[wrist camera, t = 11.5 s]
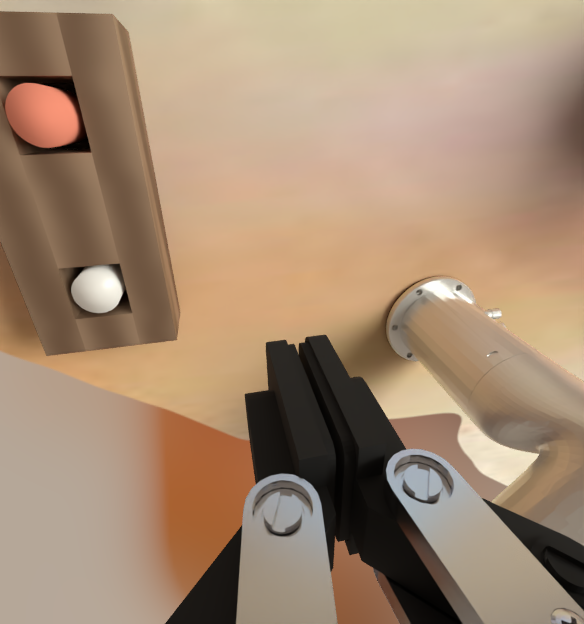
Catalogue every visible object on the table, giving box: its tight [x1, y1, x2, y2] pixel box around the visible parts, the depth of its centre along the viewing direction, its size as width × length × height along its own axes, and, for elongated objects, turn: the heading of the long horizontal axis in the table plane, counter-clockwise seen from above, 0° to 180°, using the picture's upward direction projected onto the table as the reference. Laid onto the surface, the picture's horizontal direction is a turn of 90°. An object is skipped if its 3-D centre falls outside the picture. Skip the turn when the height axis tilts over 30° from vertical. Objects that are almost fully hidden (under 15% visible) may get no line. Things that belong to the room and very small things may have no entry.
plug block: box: [0, 11, 180, 356], centre depth 33 cm, size 12×26×6 cm, turn 1°
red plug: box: [5, 83, 87, 148], centre depth 28 cm, size 4×4×6 cm
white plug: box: [71, 263, 126, 313], centre depth 35 cm, size 4×4×6 cm
